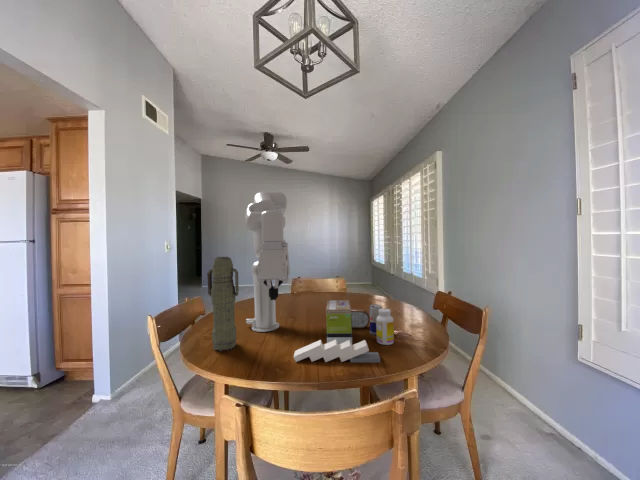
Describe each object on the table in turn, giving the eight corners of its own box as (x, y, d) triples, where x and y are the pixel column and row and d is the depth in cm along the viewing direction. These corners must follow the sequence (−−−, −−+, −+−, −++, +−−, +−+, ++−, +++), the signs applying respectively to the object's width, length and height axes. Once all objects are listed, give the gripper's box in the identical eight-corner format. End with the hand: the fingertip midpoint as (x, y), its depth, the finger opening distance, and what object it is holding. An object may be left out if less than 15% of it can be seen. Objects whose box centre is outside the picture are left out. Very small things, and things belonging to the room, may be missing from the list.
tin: (369, 326, 131) (369, 308, 131) (370, 329, 128) (370, 310, 128) (337, 326, 133) (337, 308, 133) (337, 328, 130) (336, 310, 129)
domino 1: (293, 356, 96) (320, 345, 96) (295, 350, 101) (320, 339, 101) (295, 362, 96) (322, 350, 96) (297, 355, 101) (323, 344, 101)
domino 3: (323, 357, 95) (350, 345, 95) (323, 350, 100) (349, 339, 100) (325, 362, 95) (352, 350, 95) (325, 356, 100) (351, 345, 100)
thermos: (213, 342, 115) (211, 256, 114) (242, 341, 115) (240, 256, 114) (204, 351, 106) (202, 258, 105) (236, 350, 106) (234, 257, 105)
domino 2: (309, 356, 96) (336, 344, 95) (310, 350, 101) (335, 339, 100) (311, 361, 96) (338, 350, 95) (312, 355, 101) (338, 344, 100)
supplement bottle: (394, 340, 114) (394, 308, 114) (393, 346, 108) (392, 312, 107) (377, 338, 116) (377, 307, 116) (375, 344, 110) (375, 311, 110)
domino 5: (350, 358, 95) (380, 358, 95) (349, 352, 100) (378, 352, 100) (350, 364, 95) (380, 364, 95) (349, 357, 100) (378, 358, 100)
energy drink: (368, 331, 124) (367, 304, 124) (380, 331, 125) (379, 304, 125) (371, 335, 119) (371, 307, 119) (384, 335, 120) (383, 307, 119)
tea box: (327, 333, 123) (327, 299, 123) (350, 333, 123) (350, 299, 123) (326, 347, 108) (325, 308, 108) (352, 347, 108) (352, 308, 108)
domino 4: (339, 356, 95) (366, 345, 95) (339, 350, 100) (365, 339, 100) (341, 362, 95) (369, 350, 95) (341, 355, 100) (367, 345, 100)
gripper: (295, 245, 101) (296, 296, 102) (254, 246, 102) (255, 297, 102) (292, 246, 94) (293, 301, 94) (248, 247, 94) (249, 302, 95)
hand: (273, 299), depth 98 cm, fingers closed
